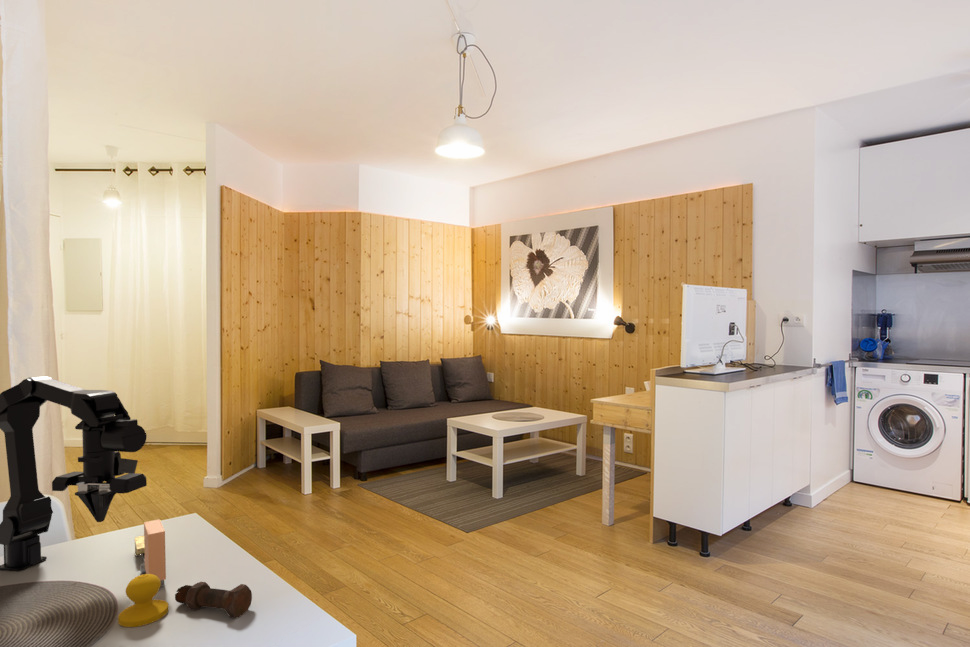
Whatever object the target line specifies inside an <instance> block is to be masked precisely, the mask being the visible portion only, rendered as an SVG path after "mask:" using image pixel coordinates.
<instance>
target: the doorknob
mask: <svg viewBox="0 0 970 647" xmlns="http://www.w3.org/2000/svg"><path fill="white" fill-rule="evenodd" d="M160 585H161V581H160V579H159V578H158V577H157V576H156V575H153V574H146V573H142V574H139V575H137V576H135V577H134V578H132V579H131V580H130V581H129V583H128V584H127V586H126V587H125V595H126V597H127V598H128V599H129V600H130V601H132V603H134V604H132V605H129V606H127V607H126V608H124V609H123V610H122V611H120V613H119V614H118V616H117V617H118V618H117V619H118V620H117V622H118V624H119V625H120V626H121V627H124V628H137V627H142V626H146V625H149V624H151V623H154V622H157V621H159V620H161V619H162V618H163V617H165V616H166V615H167V613H168V612H169V609H170V608H169V603H168V602H167V601H166V600H164V599H154V597H155V596H156V595H157V593H158V592H159V590H160V589H161V587H160Z"/></svg>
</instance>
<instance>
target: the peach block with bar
mask: <svg viewBox="0 0 970 647" xmlns="http://www.w3.org/2000/svg"><path fill="white" fill-rule="evenodd" d="M143 533H144V534H143V535H144V549H145V553H141V555H140V556H141V558H142V561H143V562H142V563H141V564H140V565H139V567H140V568H139V569H140V573H142V574H153V575H156V576H157V577H158V578H159V579H160V581H161V585H160V588H161V587H163V586H165V580H167V579H166V578H167V573H166V572H167V570H166V568H167V567H166V566H167V565H166V531H165V528H164V526H163V523H162V521H161V519H159V518H158V519H154V520H149V521H144V522H143Z"/></svg>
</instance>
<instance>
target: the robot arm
mask: <svg viewBox="0 0 970 647" xmlns="http://www.w3.org/2000/svg"><path fill="white" fill-rule="evenodd" d="M46 402H50V403H54V404H57V405H60V406H63V407H66V408H67V409H70V413H71V415H73V416H74V417H76V418H78V419H80V420H81V421H80V422H79V423H77V424H76V425H75V427H74V429H75V430H79V431H80V430H81V431H82V432H81V434H82V435H81V436H82V456H78V457H77V463H82V469H83V471H70V472H67V473H65V474H61V475H58V476H55V478H54V479H53V480H52V482H51V492H64V491H65V490H67V488H68V487H69V486H74V487H75V486H76V487H77V491H76V492H74V496H77V497H78V498H79V499H80V500H81V502H82V503H83V504H84V505H85V507H86V508H87V510H88V511H89V512H90V514H91V516H92V517H93V519H94V520H95V521H96V522H97V523H102V522H104V521H105V519H106V517H107V515H108V511H109V508H110V506H111V504H112V501H113V499H114V497H115V495H116V494H128V493H131V492H134V491H136V490H140V489H141V488H144V487H146V486H148V485H147V476H146V475H145V474H144V473H136V469H137V466H138V462H139V461H138V459H132V458H131V459H130V458H122V456H121V452H122V453H136V452H138V451H140V450H141V449H143V447H144V446H145V444H146V441H147V432H146V430H145V429H144V427H142V426H141V425H139V423H138V422H139V420H138V419H135V418H134V419H131V416H130V415H129V412H128V411H127V409H126V408H125V407H124V404H123V403H122V401H121V400H120V398H119V396H118V394H117V393H116V392H115V391H114V390H108V389H107V390H105V389H85V388H82V387H78V386H75V385H72V384H69V383H66V382H63V381H60V380H57V379H54V378H52V377H51V376H47V375H44V376H43V375H42V376H33V377H32V376H31V377H27V378H24V379H23V380H22V381H20V382H19V383H18V384H16V385H14V386H12V387H10V388H8V389H6V390H3V391H2V392H1V393H0V430H1V431H2V432H3V434H4V442H5V451H6V453H5V454H6V461H7V472H8V480H9V483H8V484H9V492H10V496H9V499H8V501H7V502H6V504H5V506H4V507H3V509H2V521H1V523H0V545H3V563H2V564H0V570H2V571H4V570H6V571H19V572H20V571H23V570H25V569H28V568H30V567H31V566H33V565H36V564H38V563H40V562H43V561H45V560H47V558H48V557H47V556H43V555H42V543H41V538H40V535H41V534H45V533H47V532H48V531H49V528H50V526H51V520H52V517H53V513H54V510H53V509H52V499H51V497H50V496H45V495H44V494H43V493H42V492H41V491H40V488H39V481H38V480H39V479H38V471H37V461H36V459H37V458H36V453H35V442H34V432H33V428H34V426H35V425H36V424H37V421H38V420H39V418H40V415H41V407H42V406H43V405H44V404H45V403H46Z"/></svg>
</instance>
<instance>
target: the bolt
mask: <svg viewBox="0 0 970 647" xmlns="http://www.w3.org/2000/svg"><path fill="white" fill-rule="evenodd" d="M175 592H176V593H175V595H174V599H175V601H176V602H177V603H179V604H186V606H187V607H188V608H189V610H192V609H193V610H194V611H198V610H201V609H203V608H204V607H206V608H214V609H219V610H224V611H225V612H226V614H227V615H228V617H229V618H231V619H238V618H240V617H241V616H243V615H245V614H246V613H248V610H249V608H250V607H251V604H252V601H253V593H252V590H251V588H250V587H249V586H248V585H247V584H243V583H241V584H239V585H237V586H236V587H234V588H233V589H231V590H227V589H222V588H221V589H220V588H211V587H210V585H209V584H208V583H207V582H206V581H199V582H197V583H194V584H193V585H190V584H189V585H188V584H185V585H183V586H181V587H178V588H177V590H175ZM203 606H204V607H203Z"/></svg>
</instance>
